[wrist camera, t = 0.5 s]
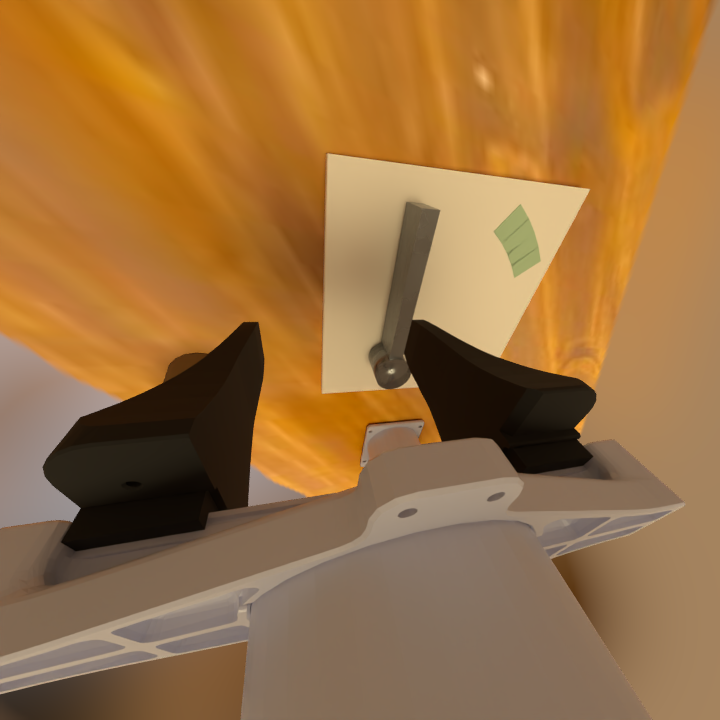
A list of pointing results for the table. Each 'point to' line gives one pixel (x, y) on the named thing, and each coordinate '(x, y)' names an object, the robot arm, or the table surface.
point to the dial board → (432, 256)
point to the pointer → (404, 294)
